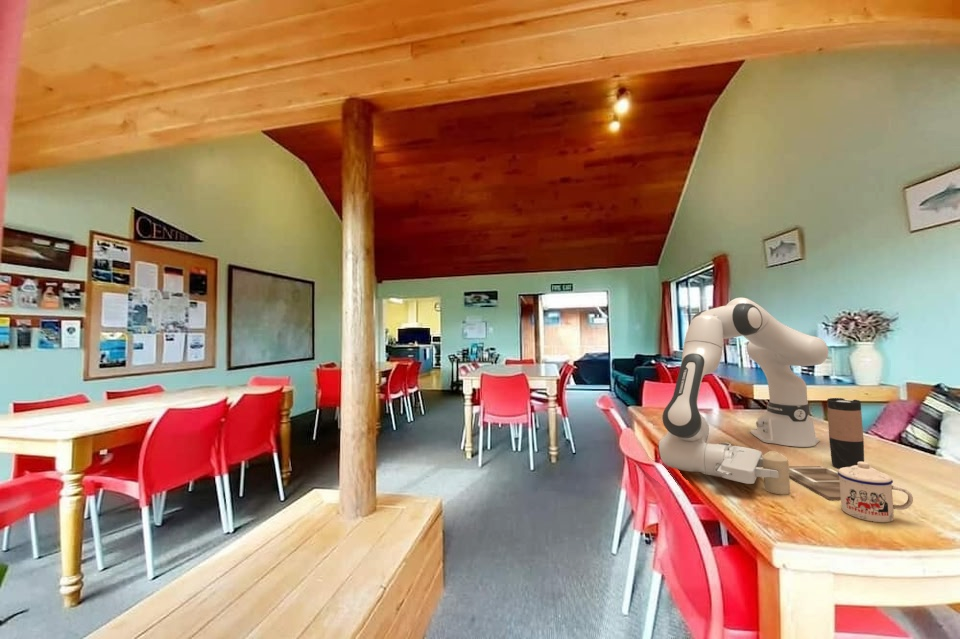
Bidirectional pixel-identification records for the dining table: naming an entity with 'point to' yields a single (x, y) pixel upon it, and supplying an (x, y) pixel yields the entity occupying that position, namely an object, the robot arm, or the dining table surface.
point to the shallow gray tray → (817, 480)
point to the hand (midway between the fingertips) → (779, 470)
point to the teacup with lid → (869, 493)
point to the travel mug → (845, 432)
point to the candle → (781, 464)
